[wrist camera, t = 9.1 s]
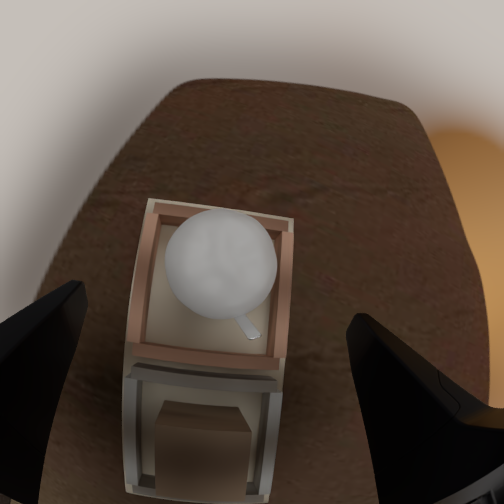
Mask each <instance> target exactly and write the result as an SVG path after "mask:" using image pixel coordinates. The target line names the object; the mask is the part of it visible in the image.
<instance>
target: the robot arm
mask: <svg viewBox="0 0 504 504" xmlns="http://www.w3.org/2000/svg"><path fill="white" fill-rule="evenodd" d="M87 308H88V300H87V295H86V290H85V285H84V283H83V282H82V281H77V280H71V281H69V282H67V283H66V284H64V285H62V286H60V287H59V288H57V289H55V290H54V291H52V292H50V293H48V294H47V295H45V296H43V297H42V298H40V299H38V300H37V301H35V302H33V303H32V304H30V305H29V306H27V307H25V308H24V309H23V310H20V311H19V312H17V313H16V314H14V315H13V316H11V317H10V318H8V319H6V320H5V321H4V322H2V323H0V504H10V502H11V499H13V500H15V501H17V502H20V503H22V504H38V499H39V490H40V483H41V477H42V471H43V465H44V460H45V457H44V456H45V454H46V449H47V444H48V440H49V435H50V431H51V427H52V423H53V419H54V416H55V412H56V408H57V405H58V401H59V398H60V395H61V392H62V388H63V385H64V382H65V379H66V376H67V373H68V370H69V367H70V364H71V362H72V359H73V356H74V353H75V350H76V347H77V344H78V340H79V336H80V333H81V329H82V325H83V322H84V318H85V315H86V312H87ZM346 340H347V346H348V352H349V358H350V365H351V371H352V376H353V380H354V384H355V388H356V392H357V396H358V400H359V404H360V408H361V412H362V417H363V421H364V426H365V430H366V435H367V439H368V444H369V449H370V454H371V459H372V464H373V469H374V474H375V481H376V487H377V493H378V499H379V504H504V408H503V409H502V408H501V409H500V408H493V407H490V406H488V405H486V404H484V403H483V402H482V401H480V400H479V399H477V398H476V397H474V396H473V395H472V394H470V393H469V392H467V391H466V390H464V389H463V388H462V387H460V386H459V385H457V384H456V383H455V382H453V381H452V380H451V379H450V378H448V377H447V376H446V375H444V374H443V373H442V372H441V371H439V370H437V368H436V367H434V366H433V365H432V364H431V363H429V362H428V361H427V360H426V359H424V358H423V357H422V356H421V355H419V354H418V353H417V352H416V351H414V350H413V349H412V348H411V347H409V346H408V345H407V344H405V343H404V342H403V341H402V340H400V339H399V338H398V337H397V336H395V335H394V334H393V333H391V332H390V331H389V330H388V329H386V328H385V327H384V326H382V325H381V324H380V323H379V322H377V321H376V320H375V319H373V318H372V317H371V316H370V315H368V314H366V313H357V314H356V315H355V316H354V317H353V319H352V321H351V323H350V325H349V327H348V329H347V331H346Z"/></svg>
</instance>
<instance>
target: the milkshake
mask: <svg viewBox="0 0 504 504" xmlns="http://www.w3.org/2000/svg"><path fill="white" fill-rule="evenodd" d="M165 270H166V275H167V279H168V282H169V285H170V288H171V290H172V292H173V293H174V295H175V296H176V297H177V298H178V300H179V301H180V302H181V303H183V304H184V305H185V306H186V307H188V308H189V309H190V310H192V311H193V312H195V313H197V314H199V315H201V316H203V317H206V318H211V319H231V318H234V319H235V320H236V322H237V323H238V325H239V326H240V328H241V329H242V331H243V332H244V334H245V335H246V337H247V338H248V339H249V340H253V339H256V338H259V337H261V336H262V335H261V333H260V332H259V331H258V330H257V328H256V327H255V326H254V325H253V323H252V322H251V321H250V320H249V318H248V317H247V316H246V314H247V313H248V312H250V311H252V310H254V309H255V308H256V307H258V306H259V305H260V304H261V303H262V302H263V301H264V300H265V299H266V297H267V296H268V294H269V293H270V291H271V289H272V287H273V284H274V281H275V278H276V273H277V258H276V253H275V249H274V246H273V243H272V240H271V238H270V236H269V234H268V232H267V231H266V230H265V228H264V227H263V226H262V225H261V224H260V223H259V222H258V221H257V220H256V219H254V218H252V217H251V216H248V215H246V214H243V213H240V212H237V211H234V210H231V209H225V208H218V209H211V210H207V211H203V212H200V213H198V214H196V215H194V216H192V217H190V218H189V219H187V220H186V221H185V222H184V223H182V224H181V225H180V226H179V228H178V229H177V230H176V231H175V232H174V234H173V235H172V237H171V238H170V240H169V242H168V245H167V248H166V252H165Z"/></svg>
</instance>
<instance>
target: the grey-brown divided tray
mask: <svg viewBox="0 0 504 504" xmlns="http://www.w3.org/2000/svg"><path fill="white" fill-rule="evenodd" d="M218 208H221V207H214V206H206V205H199V204H191V203H184V202H176V201H168V200H159V199H151V198H149V199H148V203H147V207H146V212H145V216H144V221H143V225H142V230H141V235H140V240H139V245H138V251H137V256H136V262H135V268H134V274H133V280H132V287H131V294H130V302H129V310H128V318H127V328H126V338H125V350H124V365H123V385H122V445H123V464H124V477H125V488H126V492H128V493H132V494H137V495H142V496H148V497H154V498H160V499H167V500H175V501H185V502H196V503H214V504H251V503H268V500H269V494H270V491H271V484H272V477H273V470H274V463H275V456H276V448H277V440H278V432H279V423H280V414H281V405H282V396H283V393H282V388H283V378H284V367H285V358H286V353H287V340H288V327H289V313H290V298H291V281H292V263H293V240H294V233H293V222H294V219H292V218H286V217H280V216H273V215H267V214H261V213H254V212H248V211H241V210H235V209H231V210H234V211H237V212H240V213H243V214H246V215H248V216H251V217H252V218H254V219H256V220H257V221H258V222H259V223H260V224H261V225H262V226H263V227H264V228H265V230H266V231H267V232H268V234H269V236H270V238H271V240H272V243H273V246H274V249H275V253H276V258H277V273H276V278H275V281H274V284H273V287H272V289H271V291H270V293H269V294H268V296H267V297H266V299H265V300H264V301H263V302H262V303H261V304H260V305H259V306H258V307H256V308H255V309H254V310H252V311H250V312H248V313H247V314H246V316H247V317H248V318H249V320H250V321H251V322H252V323H253V325H254V326H255V327H256V328H257V330H258V331H259V332H260V333H261V335H262V336H261V337H259V338H256V339H253V340H249V339H248V338H247V337H246V335H245V334H244V332H243V331H242V329H241V328H240V326H239V325H238V323H237V322H236V320H235V319H234V318H231V319H211V318H206V317H203V316H201V315H199V314H197V313H195V312H193V311H192V310H190V309H189V308H188V307H186V306H185V305H184V304H183V303H181V302H180V301H179V300H178V298H177V297H176V296H175V295H174V293H173V292H172V290H171V288H170V285H169V282H168V279H167V275H166V270H165V252H166V248H167V245H168V242H169V240H170V238H171V237H172V235H173V234H174V232H175V231H176V230H177V229H178V228H179V226H180V225H181V224H182V223H184V222H185V221H186V220H187V219H189V218H190V217H192V216H194V215H196V214H198V213H200V212H203V211H207V210H211V209H218ZM225 209H228V208H225Z"/></svg>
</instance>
